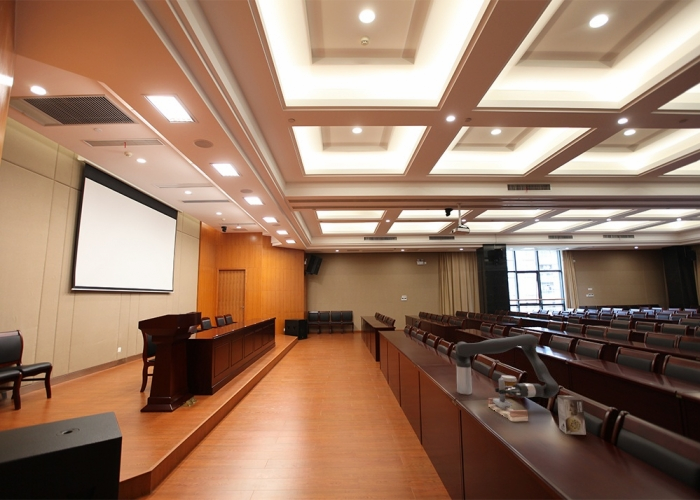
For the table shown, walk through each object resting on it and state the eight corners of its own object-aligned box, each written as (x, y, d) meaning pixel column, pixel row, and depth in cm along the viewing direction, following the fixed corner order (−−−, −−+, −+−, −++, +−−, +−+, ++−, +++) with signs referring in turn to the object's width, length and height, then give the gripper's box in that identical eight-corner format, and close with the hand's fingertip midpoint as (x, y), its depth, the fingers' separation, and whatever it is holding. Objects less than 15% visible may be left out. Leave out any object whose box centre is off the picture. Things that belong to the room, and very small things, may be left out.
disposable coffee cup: (498, 394, 216) (497, 375, 217) (508, 392, 220) (507, 374, 221) (510, 398, 207) (509, 379, 209) (520, 396, 211) (519, 377, 213)
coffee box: (578, 429, 160) (575, 395, 162) (586, 435, 154) (583, 399, 156) (558, 428, 161) (556, 394, 163) (566, 434, 154) (563, 398, 157)
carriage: (492, 404, 188) (491, 377, 190) (504, 404, 189) (502, 377, 191) (501, 409, 180) (499, 381, 182) (512, 409, 181) (511, 380, 183)
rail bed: (488, 407, 190) (488, 398, 191) (502, 406, 192) (502, 397, 192) (512, 421, 169) (511, 411, 170) (527, 420, 170) (527, 410, 171)
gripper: (516, 380, 195) (489, 380, 193) (532, 386, 181) (504, 387, 179) (517, 393, 194) (490, 394, 192) (533, 400, 180) (505, 401, 178)
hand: (497, 390), depth 185 cm, fingers closed on carriage, 3 cm apart
